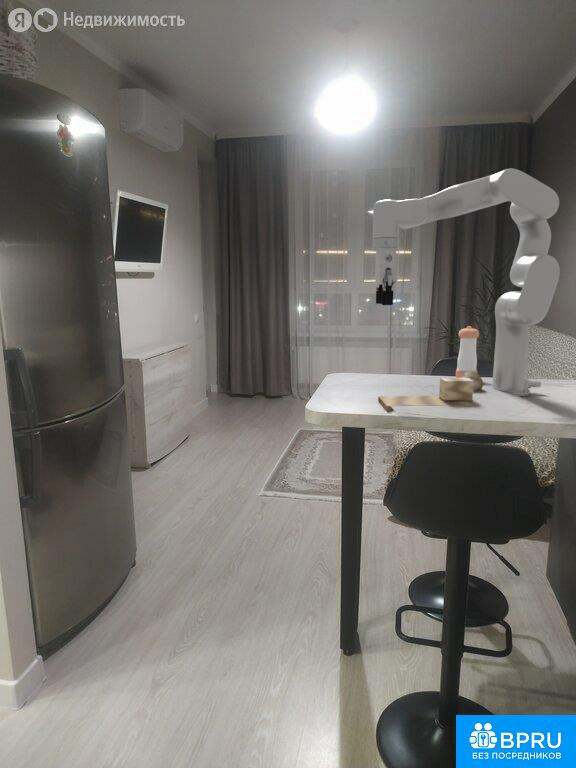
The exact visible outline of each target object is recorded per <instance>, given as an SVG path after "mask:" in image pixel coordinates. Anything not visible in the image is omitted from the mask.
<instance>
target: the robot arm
mask: <svg viewBox="0 0 576 768" xmlns="http://www.w3.org/2000/svg"><path fill="white" fill-rule="evenodd" d="M505 202H506V203H507V202H510V203H511V204H510V207H509V214H510V217H511V219H512V220H513V221H514V223H515V225H516V226H517V228H518V231H519V241H518V246H517V249H516V252H515V254H514V259H513V262H512V264H511V265H512V266H511V267H510V271H509V279H510V282H511V283H512V284H513V285H514V286H516V287H518V288H521V289H520V291H519V290H517V291H515V290H514V291H508V292H505V293H504V294H502V295H501V296H499V298H498V299H497V301H496V303H495V307H494V316H495V328H496V329H495V342H494V344H495V346H494V357H493V358H494V359H493V360H494V361H493V371H492V386H491V387H492V389H494V390H495V391H501V392H509V393H511V394H513V395H515V396H517V397H527V396H529V395H530V394H531V390H530V389H531V388H541V387H542V381H540V380H539V381H538V380H535V381H533V380H529V379H527V369H528V358H529V357H528V356H529V348H530V347H529V345H530V329H529V328H530V327H529V326H533V325H537V324H539V323H540V322H542V321H544V318H546V315H547V314H548V312H549V309H550V307H551V304H552V301H553V298H554V295H555V293H556V289H557V285H558V282H559V279H560V272H561V270H560V265H559V263H558V260H557V259H556V258H555V257H554V256H552V255H549V254H548V253H549V249H550V245H551V240H552V231H551V227H550V225H549V223H548V219H550V218H552V217H553V216H554V215H555V214H556V213H557V211H558V209H559V207H560V197H559V196H558V194H557V192H556V191H555V190H554V189H553V188H551V187H549V186H548V185H546V184H545V183H543V182H542V181H539V180H538V179H536V178H534V177H532V176H531V175H529V174H527V173H525V172H524V171H522V170H519V169H516V168H511V167H510V168H506V169H503V170H501V171H498V172H497V173H494V174H490V175H487V176H483V177H480V178H476V179H474V180H470V181H466V182H465V181H464V182H463V183H459V184H455V185H452V186H450V187H448V188H445V189H443V190H441V191H439V192H437V193H434V194H432V195H428V196H425V197H423V198H411V199H404V200H395V199H383V200H378V201H376V202H375V203H373V209H372V212H373V215H372V218H373V219H372V251H373V252H375V269H374V270H375V271H374V272H375V273H374V275H375V278H374V279H375V280H374V281H375V284H376V290H375V304H376V305H382V306H393V305H394V285H396V284H397V283H398V260H397V259H398V256H397V251H399V247H400V229H401V230H409V229H411V228H416V227H418V226H423V225H425V224H429V223H432V222H437V221H439V220H440V221H441V220H445V219H450V218H454V217H459V216H462V215H466V214H469V213H473V212H475V211H479V210H483V209H486V208H490V207H492V206H497V205H500V204H502V203H505Z"/></svg>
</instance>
